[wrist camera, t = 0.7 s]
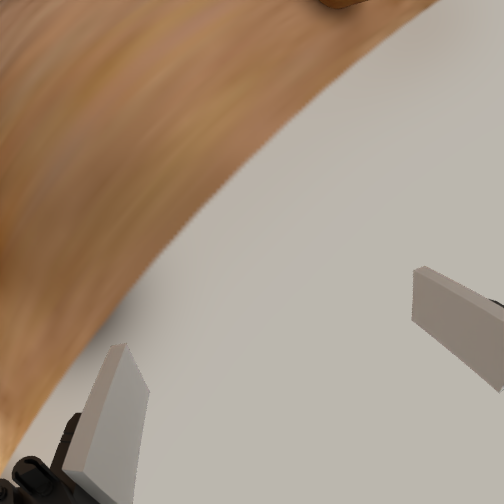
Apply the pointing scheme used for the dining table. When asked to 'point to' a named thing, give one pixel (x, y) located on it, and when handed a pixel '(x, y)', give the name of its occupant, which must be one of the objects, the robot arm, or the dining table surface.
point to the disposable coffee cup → (340, 3)
